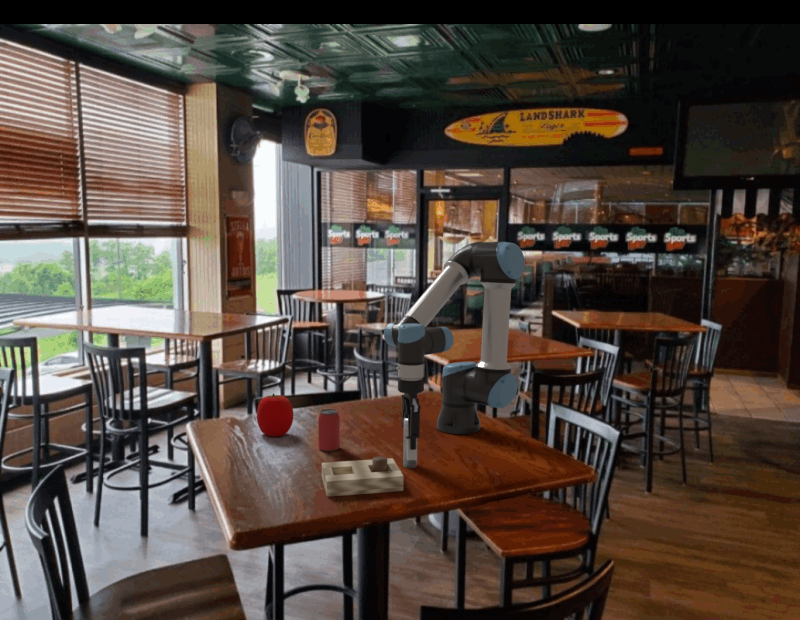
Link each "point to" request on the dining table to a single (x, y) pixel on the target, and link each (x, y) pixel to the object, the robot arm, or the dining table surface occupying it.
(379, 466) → the socket block
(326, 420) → the beer can
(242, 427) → the dining table surface
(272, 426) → the tomato
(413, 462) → the steel pin
